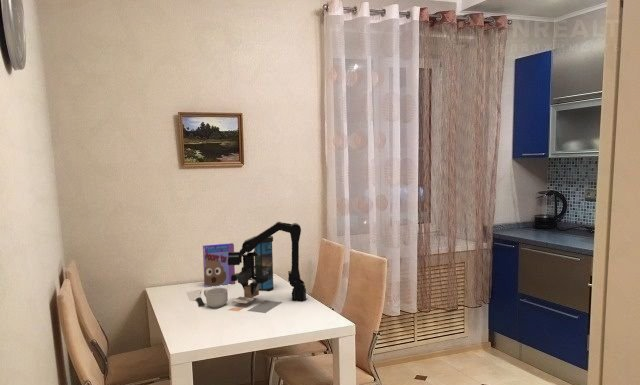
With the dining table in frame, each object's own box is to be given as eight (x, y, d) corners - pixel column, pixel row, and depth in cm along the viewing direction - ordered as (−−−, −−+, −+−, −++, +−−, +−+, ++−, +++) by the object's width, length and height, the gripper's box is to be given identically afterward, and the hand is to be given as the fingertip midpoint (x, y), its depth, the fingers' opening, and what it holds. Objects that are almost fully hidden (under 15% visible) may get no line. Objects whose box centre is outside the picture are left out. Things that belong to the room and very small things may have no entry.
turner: (249, 293, 235) (249, 282, 235) (262, 294, 232) (262, 283, 231) (232, 301, 220) (232, 289, 220) (246, 303, 217) (245, 291, 217)
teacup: (232, 305, 224) (231, 289, 223) (213, 310, 216) (213, 294, 215) (216, 300, 233) (215, 285, 233) (198, 305, 225) (197, 289, 225)
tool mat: (282, 303, 225) (282, 302, 225) (265, 314, 209) (265, 313, 209) (265, 301, 229) (265, 300, 229) (246, 312, 213) (246, 310, 213)
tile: (245, 307, 218) (238, 311, 212) (245, 310, 218) (238, 314, 212) (234, 306, 220) (227, 310, 215) (234, 309, 220) (227, 313, 215)
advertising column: (278, 288, 253) (277, 236, 251) (263, 293, 244) (262, 239, 243) (265, 285, 260) (263, 234, 259) (250, 289, 252) (248, 237, 250)
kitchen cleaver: (182, 291, 249) (200, 287, 253) (183, 294, 249) (201, 290, 253) (186, 307, 220) (207, 302, 223) (187, 311, 220) (207, 306, 224)
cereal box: (205, 287, 260) (203, 246, 258) (204, 285, 264) (202, 245, 263) (235, 284, 266) (233, 244, 265) (233, 282, 270) (232, 242, 269)
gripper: (224, 266, 223) (225, 297, 224) (256, 269, 215) (257, 301, 216) (236, 262, 233) (237, 291, 234) (267, 264, 226) (268, 294, 227)
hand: (249, 294), depth 227 cm, fingers closed on turner, 3 cm apart
